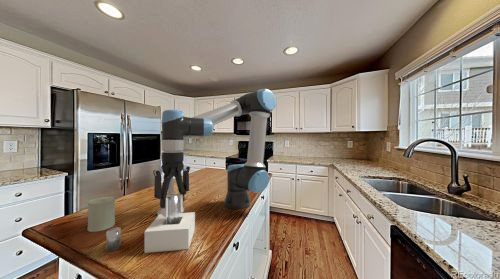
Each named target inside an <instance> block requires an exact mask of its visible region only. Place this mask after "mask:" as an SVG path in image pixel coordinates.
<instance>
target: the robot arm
mask: <svg viewBox="0 0 500 279" xmlns="http://www.w3.org/2000/svg"><path fill="white" fill-rule="evenodd" d="M276 105H277V101H276V96H275V94H274V93H273V92H272V91H271V90H270V89H268V88H261V89H258V90H255V91H250V92H248V93H245V94H244V95H242V96H240V97H238V98H236V99H233V100H231V101H230V103H226V104H225V105H223V106H219V107H216V108H213V109H212V110H208V111H207V112H203V113H200V114H198V115H196V116H193V117H188V116H185V114H184V111H182V110H178V109H165V110H163V112H162V113H161V115H162V116H161V122H160V124H161V151H162V153H161V167H160V168H158V169H154V170H153V171H152V173H153V176H154V192H153V194H154V195H153V196H154V198H156V199H158V200H159V207H160V209H162V216H164V217H168V198H167V196H168V188H169V184H170V180H171V179H172V177H173V178H175V182H176V185H177V186H176V187H177V191H178V193H177V194H178V205H179V212H183V208H184V207H183V206H184V204H183V203H184V202H185V195H187V192H189V191H190V170H191V166H188V165H184V161H185V160H184V159H185V158H184V154H185V153H184V152H183V151H184V150H185V149H184V143H185V140H184V138H189V137H202V138H203V137H210V136H212V134H213V131H214V126H215V125H218V124H220V123H223V122H224V121H227V120H230V119H232V118H234V117H241V116H243V115H249V116H250V118H251V119H250V128H249V138H248V148H247V157H246V158H247V159H246V160H247V161H246V162H245V163H241V164H229V165H228V166H227V172H226V175H227V184H226V185H227V190H226V195H225V197H224V200H223V203H224V204H223V205H224V207H225V208H228V209H232V210H239V209H240V210H241V209H246V208H249V206H251V198H250V195H249V192H250V193H255V194H259V193H262V192H264V191H265V190H266V189H267V187H268V186H269V183H270V174H269V172H268V171H266V170H267V169H266V165H265V164H264V158H265V146H266V137H267V136H266V135H267V124H268V122H267V121H268V118H270V117H271V111H273V110H275V108H276ZM162 175H163V176H162ZM162 177H163V180H162ZM248 191H249V192H248ZM183 213H184V212H183Z"/></svg>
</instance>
